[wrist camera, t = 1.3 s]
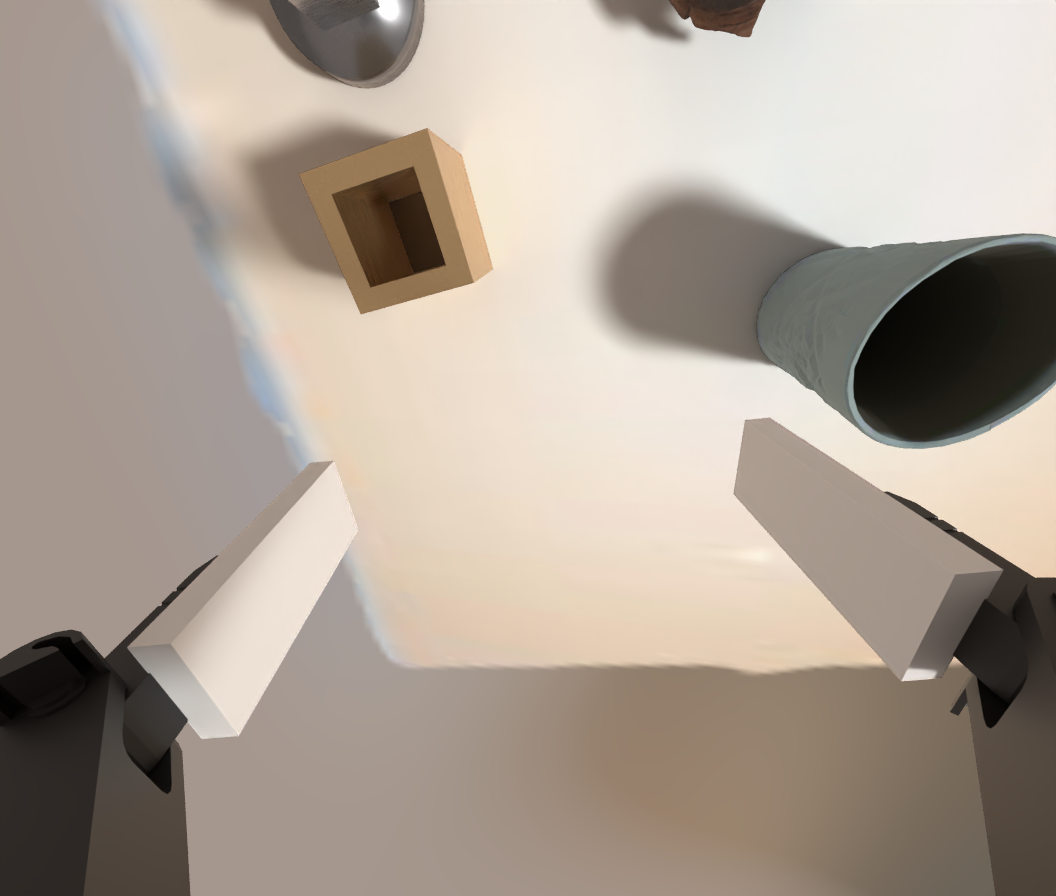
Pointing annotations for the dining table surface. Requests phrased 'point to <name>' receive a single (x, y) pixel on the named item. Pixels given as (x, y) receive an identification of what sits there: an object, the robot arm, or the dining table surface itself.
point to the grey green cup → (919, 334)
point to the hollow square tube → (370, 229)
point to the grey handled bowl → (355, 36)
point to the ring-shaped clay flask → (721, 14)
